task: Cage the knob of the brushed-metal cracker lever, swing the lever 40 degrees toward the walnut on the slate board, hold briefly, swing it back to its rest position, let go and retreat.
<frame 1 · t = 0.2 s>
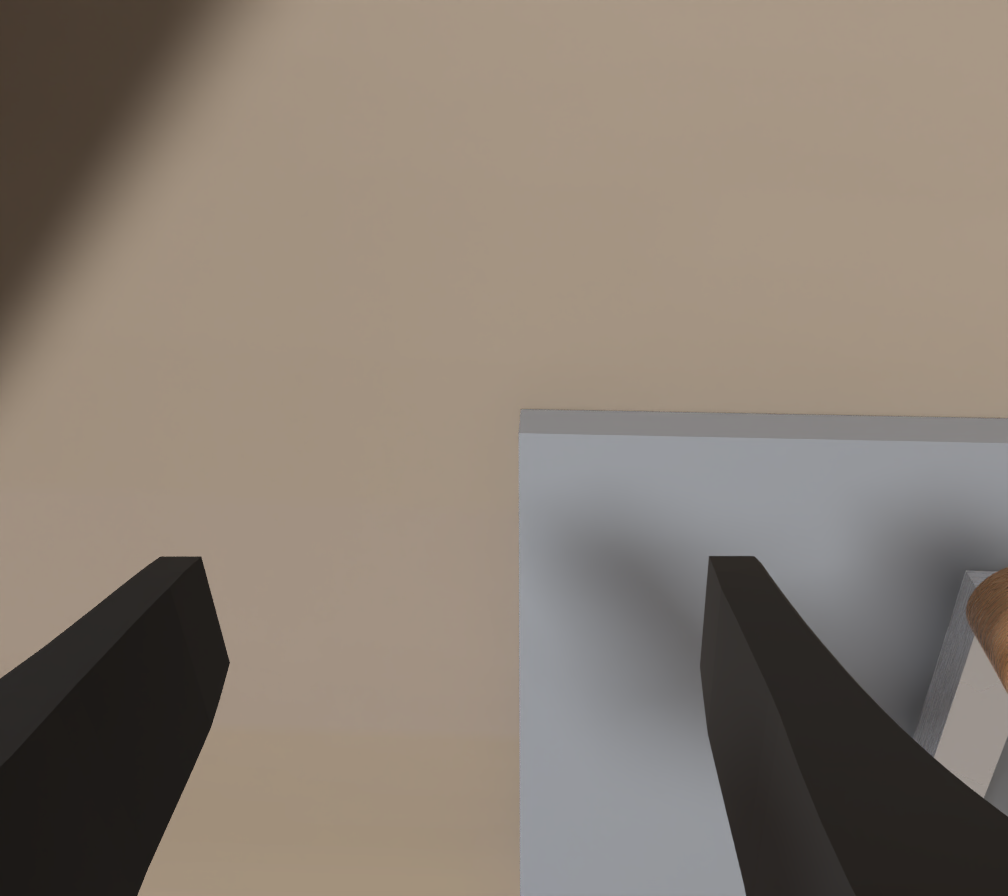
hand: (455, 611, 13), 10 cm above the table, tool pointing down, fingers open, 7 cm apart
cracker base: (776, 684, 27), on the table
lever: (970, 831, 23), point 4 cm above the table, hinge at 0.0°
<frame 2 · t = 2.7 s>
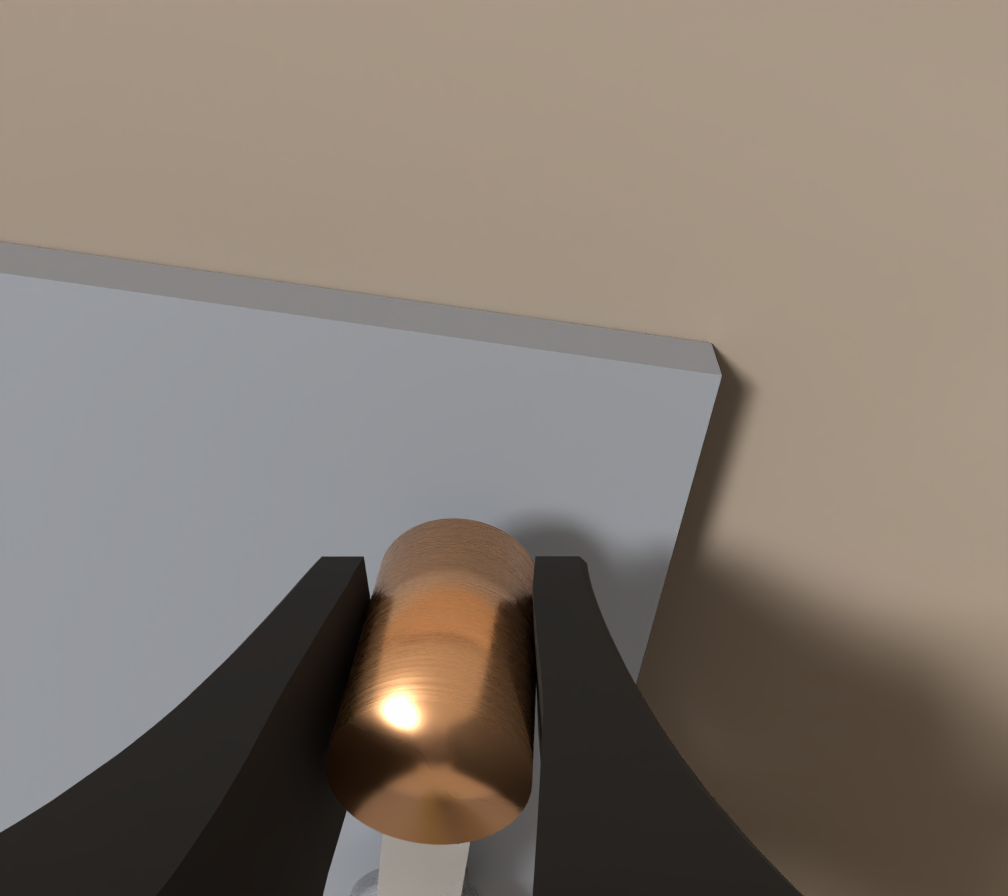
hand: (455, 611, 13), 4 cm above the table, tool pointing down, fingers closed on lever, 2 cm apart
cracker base: (260, 678, 19), on the table
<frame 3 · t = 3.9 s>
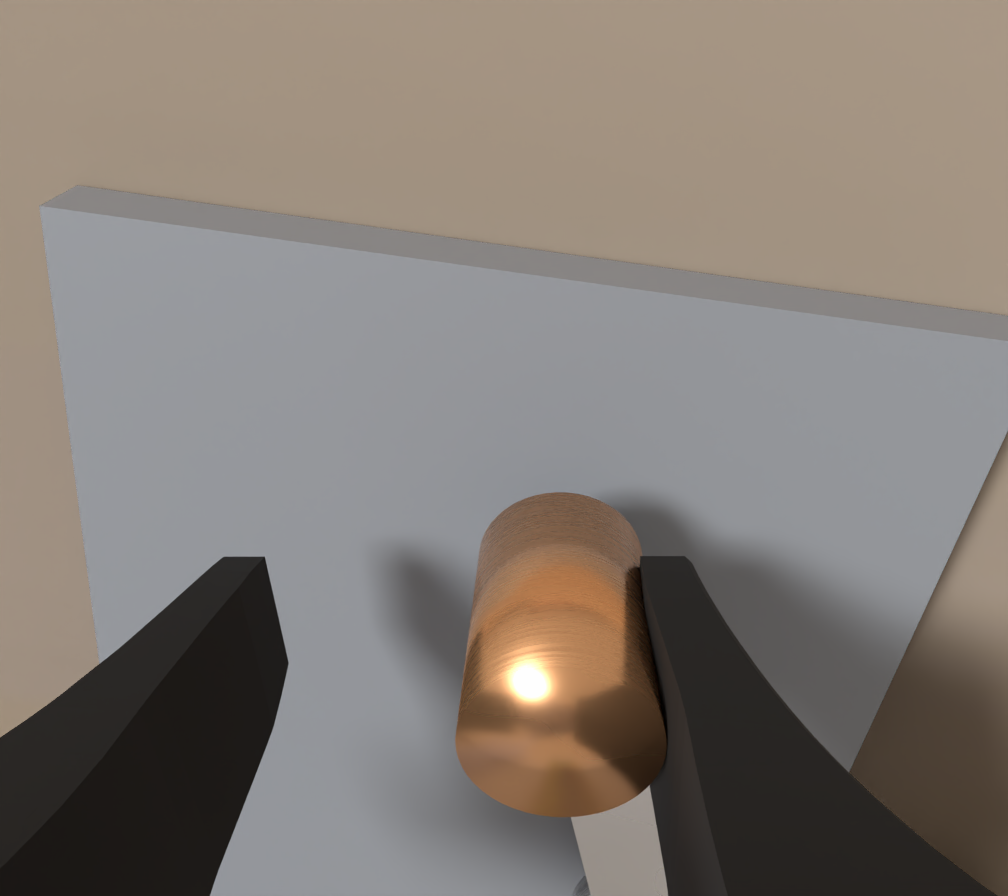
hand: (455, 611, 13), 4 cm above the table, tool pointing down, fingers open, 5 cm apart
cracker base: (483, 668, 19), on the table
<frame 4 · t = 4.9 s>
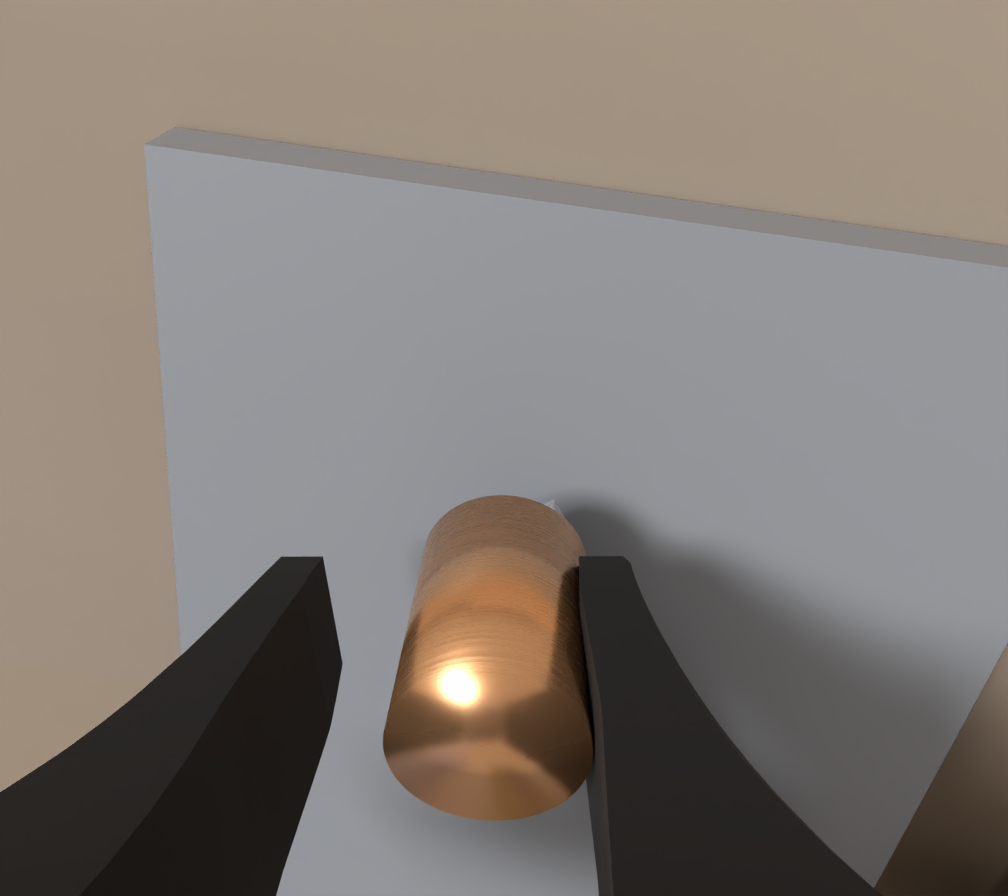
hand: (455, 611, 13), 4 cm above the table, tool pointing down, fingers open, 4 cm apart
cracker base: (570, 639, 18), on the table
lever: (678, 885, 15), point 4 cm above the table, hinge at 34.7°, touching gripper
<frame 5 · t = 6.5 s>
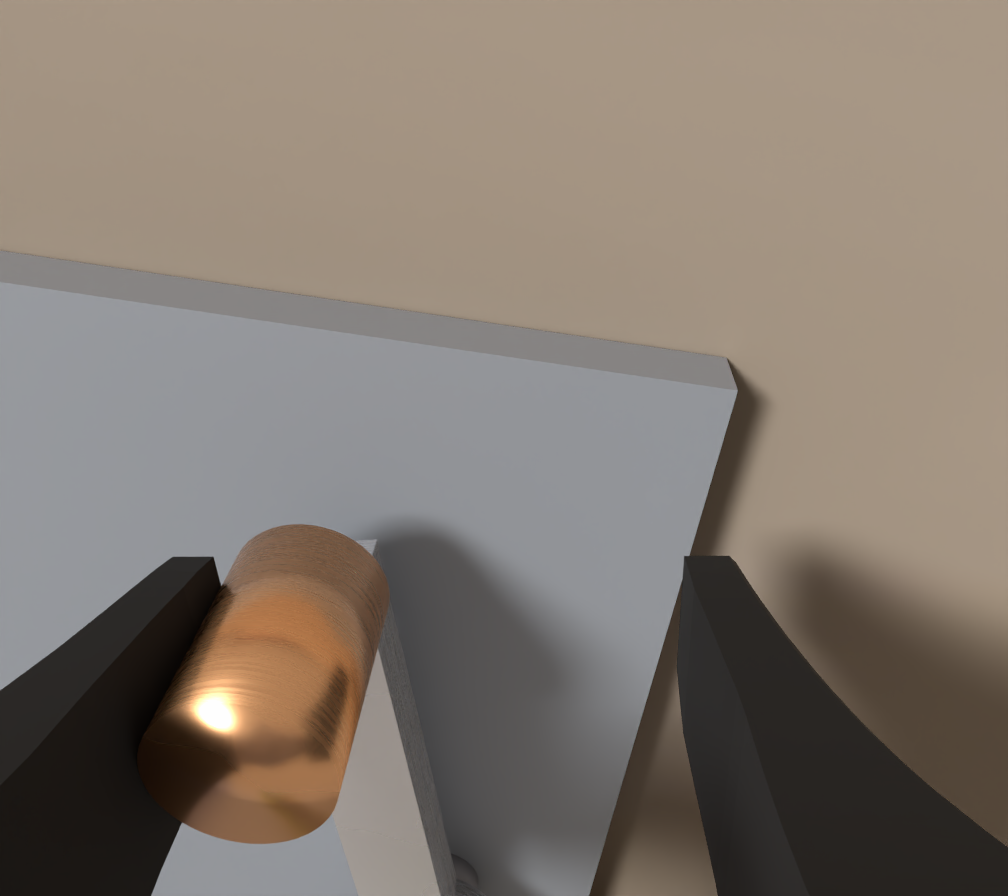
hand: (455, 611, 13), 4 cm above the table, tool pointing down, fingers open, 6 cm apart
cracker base: (273, 686, 19), on the table
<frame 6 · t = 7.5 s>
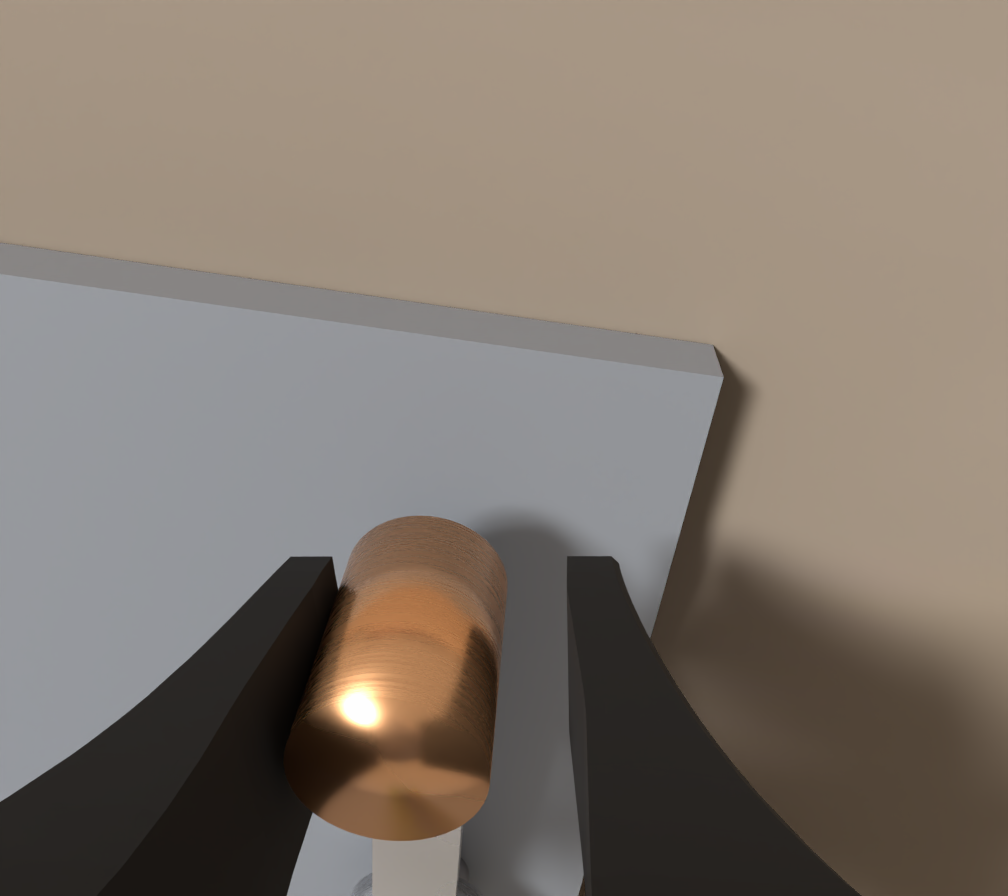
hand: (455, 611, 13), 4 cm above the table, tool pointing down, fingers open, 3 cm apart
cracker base: (261, 679, 19), on the table
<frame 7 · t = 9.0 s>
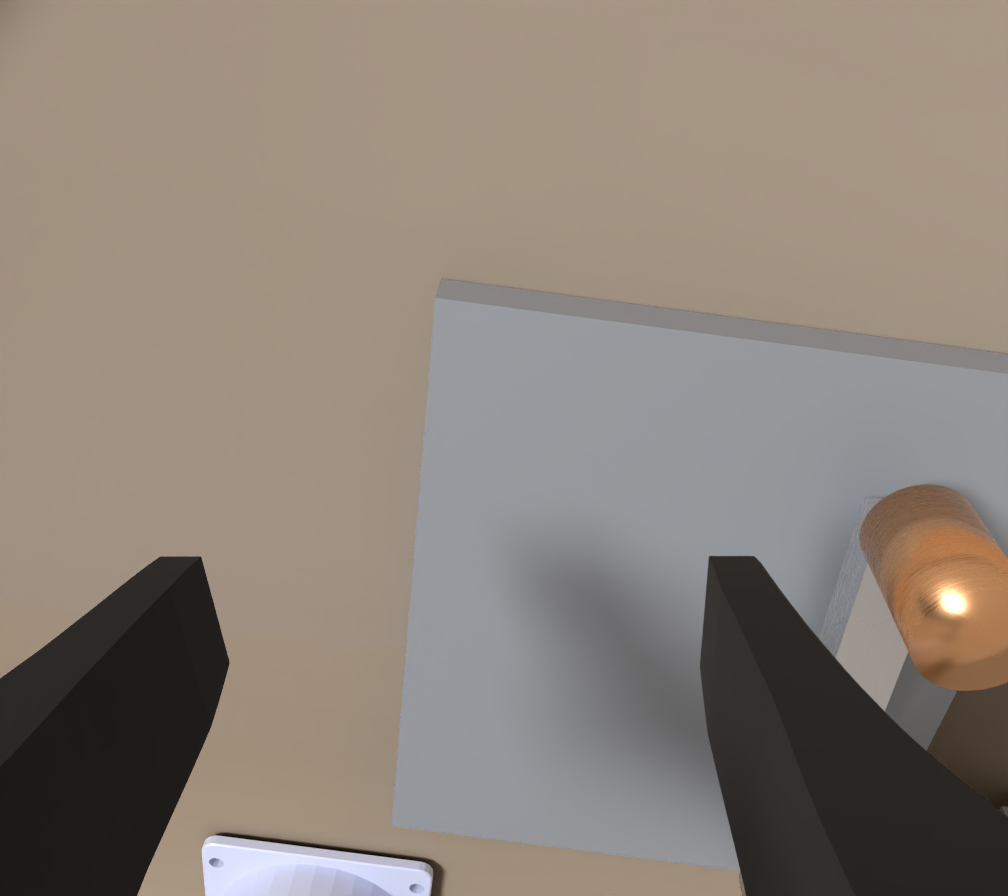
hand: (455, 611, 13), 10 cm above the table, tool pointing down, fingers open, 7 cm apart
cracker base: (681, 617, 26), on the table
lever: (853, 774, 22), point 4 cm above the table, hinge at 2.9°
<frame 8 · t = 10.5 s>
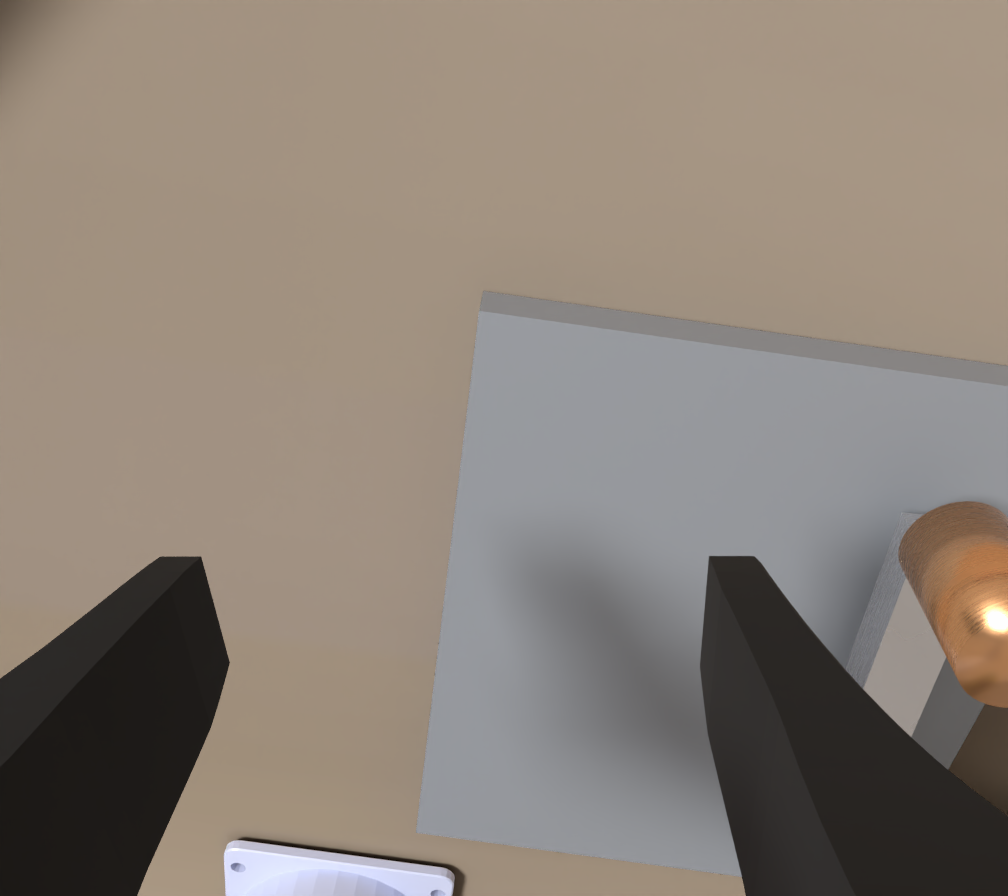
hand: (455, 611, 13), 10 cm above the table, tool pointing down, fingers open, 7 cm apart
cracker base: (710, 628, 26), on the table
lever: (886, 786, 22), point 4 cm above the table, hinge at 2.9°
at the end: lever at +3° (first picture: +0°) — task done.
